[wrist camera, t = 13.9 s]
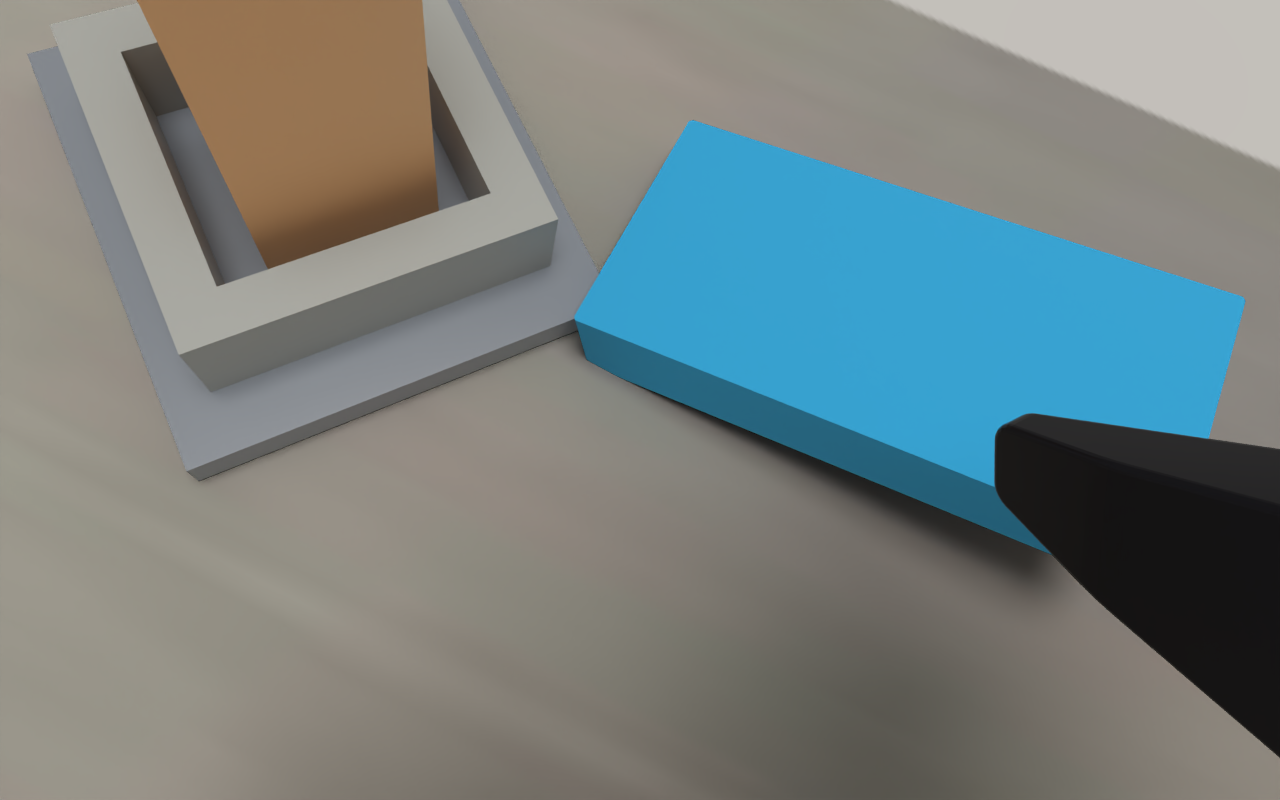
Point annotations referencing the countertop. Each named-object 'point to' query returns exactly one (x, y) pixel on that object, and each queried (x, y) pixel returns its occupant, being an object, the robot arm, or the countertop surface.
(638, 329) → the blue block
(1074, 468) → the robot arm
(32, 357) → the countertop surface
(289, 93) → the block
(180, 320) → the jig cradle
